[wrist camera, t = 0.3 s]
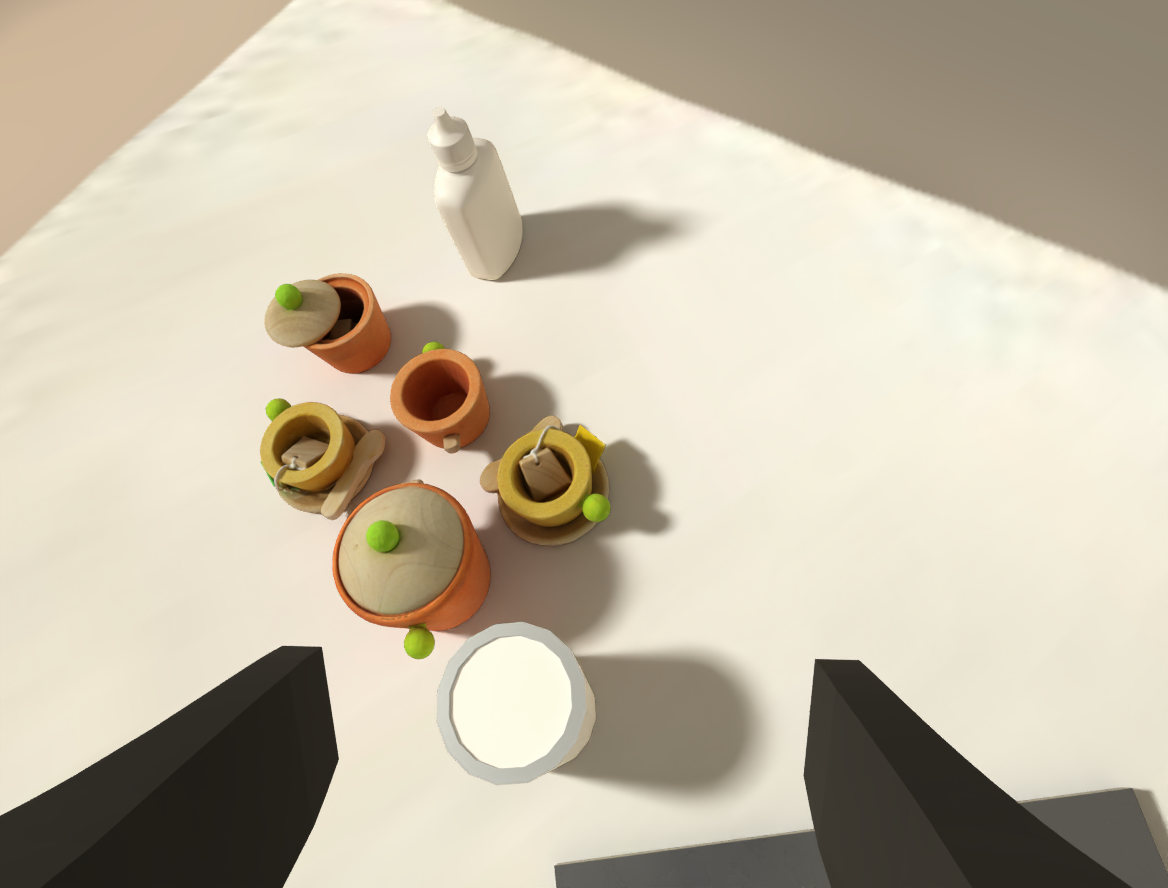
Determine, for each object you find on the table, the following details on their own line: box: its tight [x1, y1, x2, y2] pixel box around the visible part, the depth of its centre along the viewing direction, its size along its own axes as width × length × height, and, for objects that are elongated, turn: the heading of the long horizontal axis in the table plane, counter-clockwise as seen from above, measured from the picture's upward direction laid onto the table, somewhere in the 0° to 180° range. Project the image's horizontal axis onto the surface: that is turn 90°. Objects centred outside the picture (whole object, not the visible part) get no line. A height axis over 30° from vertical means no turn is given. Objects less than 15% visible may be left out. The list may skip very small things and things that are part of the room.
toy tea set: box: [260, 273, 611, 659], centre depth 42 cm, size 26×16×10 cm, turn 49°
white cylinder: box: [437, 622, 596, 785], centre depth 35 cm, size 7×7×7 cm
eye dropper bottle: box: [428, 107, 523, 280], centre depth 46 cm, size 4×6×12 cm
